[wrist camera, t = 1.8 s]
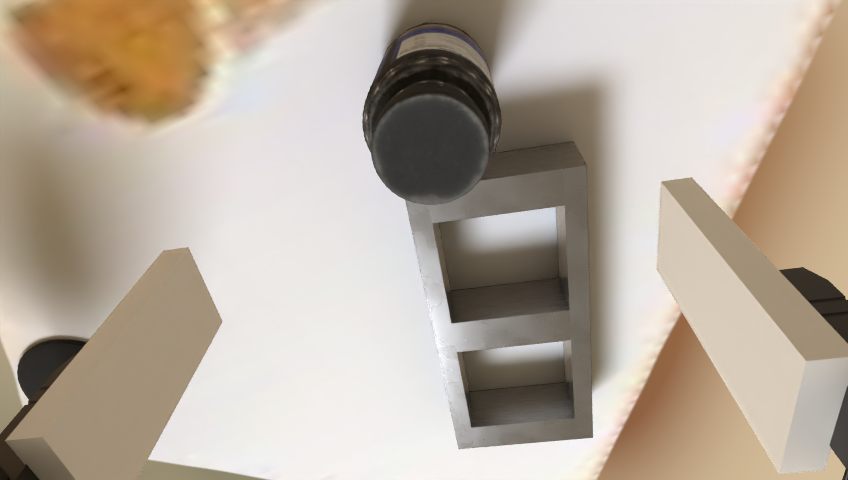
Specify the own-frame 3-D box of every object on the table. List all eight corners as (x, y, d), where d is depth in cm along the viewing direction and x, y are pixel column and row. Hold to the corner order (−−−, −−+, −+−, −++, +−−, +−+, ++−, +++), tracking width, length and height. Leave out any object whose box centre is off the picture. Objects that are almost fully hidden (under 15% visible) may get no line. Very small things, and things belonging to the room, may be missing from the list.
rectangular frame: (407, 166, 33) (403, 191, 30) (573, 141, 32) (586, 165, 29) (457, 412, 45) (458, 449, 42) (582, 401, 43) (592, 437, 40)
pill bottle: (435, 150, 33) (430, 248, 23) (357, 79, 31) (318, 155, 21) (512, 76, 30) (542, 151, 21) (433, -7, 28) (427, 36, 19)
